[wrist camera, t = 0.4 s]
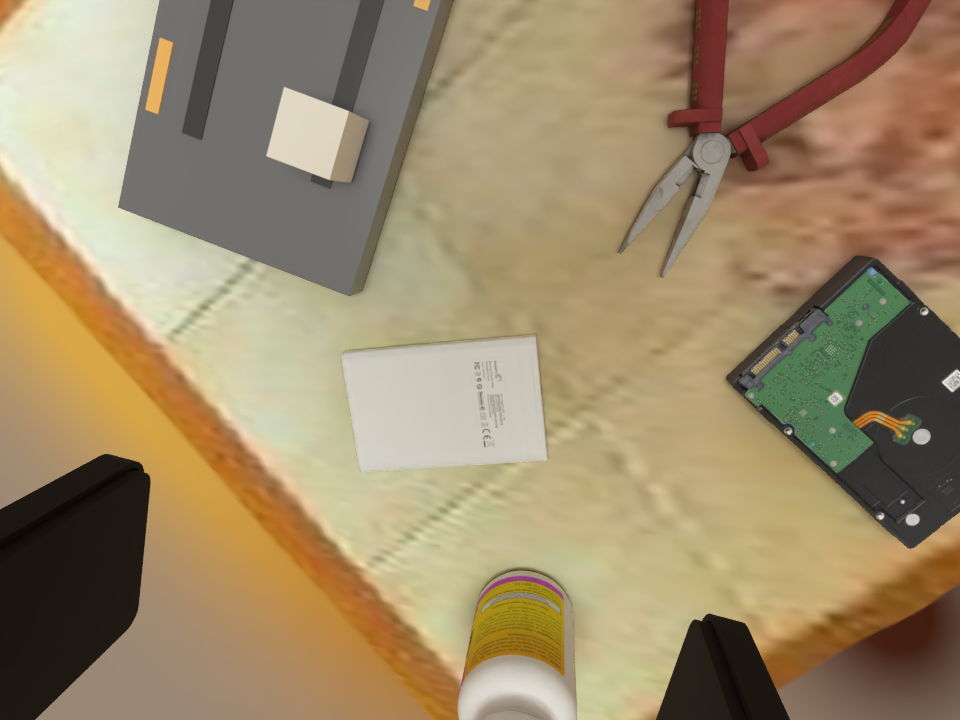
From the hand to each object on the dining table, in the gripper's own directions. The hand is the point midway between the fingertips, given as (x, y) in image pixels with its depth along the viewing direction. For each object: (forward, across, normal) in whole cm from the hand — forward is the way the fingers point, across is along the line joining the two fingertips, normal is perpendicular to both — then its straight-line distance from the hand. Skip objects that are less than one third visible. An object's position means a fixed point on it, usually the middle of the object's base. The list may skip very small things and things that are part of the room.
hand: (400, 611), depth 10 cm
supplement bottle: (+30, -5, +20) cm, 36 cm away
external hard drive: (+31, +3, +7) cm, 31 cm away
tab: (+27, +12, -8) cm, 31 cm away
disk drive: (+31, -22, 0) cm, 38 cm away
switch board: (+30, +16, -11) cm, 35 cm away
